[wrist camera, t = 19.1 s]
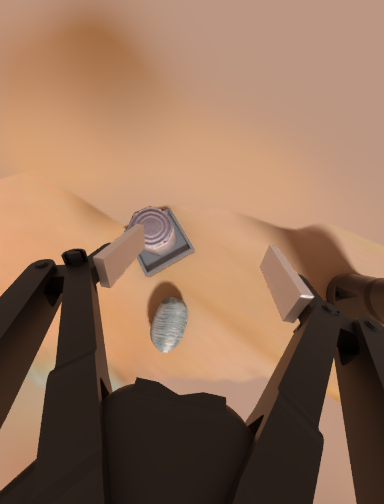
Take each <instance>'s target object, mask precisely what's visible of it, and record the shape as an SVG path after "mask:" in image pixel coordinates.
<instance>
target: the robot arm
mask: <svg viewBox="0 0 384 504" xmlns="http://www.w3.org/2000/svg"><path fill="white" fill-rule="evenodd" d="M144 248H145V238H144V225H142V224H136V225H134V226H133V227H132V228H130V229H129V230H128V231H126V232H125V233H124V234H123V235H121V236H120V237H119V238H117V239H116V240H115V241H113V242H112V243H107V244H104V245H103V246H101V247H100V248H98V249H97V250H96V251H94V252H93V253H92V254H90V255H89V256H87V254H86V251H85V250H83V249H71V250H68V251H66V252H64V253H63V254H62V255H61V256H62V259H63V261H64V263H65V265H56V264H55V262H54V261H53V260H51V259H44V260H38V261H36V262H34V263H32V264H30V265H29V266H28V267H27V268H26V269H25V270H24V272H23V273H22V274H21V275H20V276H19V277H18V278H17V279H16V280H15V281H14V282H13V284H12V285H11V286H10V287H9V288H8V289H7V290H6V291H5V292H4V293H3V294H2V295H1V297H0V428H1V426H2V424H3V423H4V421H5V419H6V417H7V415H8V413H9V410H10V409H11V406H12V404H13V402H14V400H15V398H16V396H17V394H18V392H19V390H20V388H21V385H22V383H23V381H24V379H25V377H26V375H27V373H28V371H29V369H30V367H31V365H32V362H33V360H34V358H35V356H36V354H37V352H38V350H39V348H40V346H41V344H42V341H43V339H44V337H45V335H46V333H47V331H48V329H49V327H50V325H51V323H52V320H53V318H54V316H55V314H56V312H57V310H58V308H59V306H60V304H61V302H62V306H61V316H60V326H59V336H58V346H57V355H56V365H55V368H54V370H52V371H50V373H49V375H48V378H47V383H46V391H45V398H44V406H43V414H42V422H41V429H40V436H39V444H38V452H37V459H36V460H35V461H33V462H32V463H31V464H30V465H29V466H28V467H27V468H26V469H25V470H23V471H22V472H21V473H20V474H19V475H18V476H17V477H16V478H14V479H13V480H12V481H11V482H10V483H9V484H8V485H7V486H5V487H4V488H3V489H2V490H1V491H0V504H313V499H314V494H315V489H316V483H317V478H318V473H319V467H320V461H321V456H322V451H323V444H324V439H323V435H322V433H321V432H320V431H319V428H318V426H319V421H320V416H321V412H322V407H323V403H324V398H325V394H326V389H327V385H328V381H329V376H330V372H331V367H332V363H333V358H334V360H335V366H336V373H337V379H338V386H339V392H340V399H341V405H342V412H343V418H344V425H345V431H346V438H347V444H348V450H349V457H350V464H351V470H352V476H353V483H354V489H355V496H356V502H357V504H384V278H374V277H369V276H364V275H360V274H344V275H340V276H337V277H335V278H334V279H333V280H332V281H331V282H330V284H329V286H328V288H327V300H328V302H325V301H323V300H322V299H321V297H320V296H319V295H318V294H317V292H316V291H315V290H314V289H313V287H312V286H311V285H310V283H309V282H308V281H307V279H305V278H304V277H303V276H302V275H299V274H297V272H296V271H295V270H294V268H293V267H292V266H291V264H290V263H289V262H288V260H287V259H286V258H285V256H284V255H283V253H282V252H281V251H280V249H279V248H278V247H277V246H273V245H269V247H268V249H267V252H266V254H265V256H264V258H263V261H262V263H261V265H260V268H261V271H262V273H263V275H264V278H265V280H266V282H267V285H268V287H269V290H270V292H271V294H272V297H273V299H274V301H275V304H276V306H277V308H278V311H279V313H280V316H281V318H282V320H283V321H285V322H291V323H294V322H295V321H296V319H297V318H298V319H299V321H300V324H299V325H298V327H297V328H296V329H295V330H294V331H293V332H294V335H293V336H292V338H291V340H290V342H289V344H288V346H287V348H286V350H285V352H284V354H283V356H282V357H281V359H280V361H279V363H278V365H277V367H276V369H275V371H274V373H273V375H272V376H271V378H270V380H269V382H268V384H267V386H266V388H265V390H264V392H263V394H262V396H261V398H260V399H259V401H258V404H257V405H256V407H255V409H254V410H253V412H252V413H251V415H250V416H249V417H248V419H247V420H246V422H244V421H243V420H242V418H241V417H240V416H239V415H238V414H237V413H236V412H235V411H234V410H233V409H231V408H230V407H229V406H227V405H226V397H222V396H217V395H213V394H208V393H204V392H203V393H194V394H187V395H178V394H176V393H175V392H173V391H171V390H170V389H168V388H167V387H165V386H163V385H162V384H160V383H159V382H156V381H151V380H147V379H142V378H138V377H137V378H136V381H135V384H130V385H126V386H124V387H121V388H119V389H117V390H116V391H114V392H112V387H111V383H110V379H109V374H108V367H107V359H106V352H105V344H104V337H103V330H102V322H101V315H100V307H99V300H98V293H97V286H96V284H97V283H98V282H99V281H100V285H101V287H107V288H111V287H112V286H113V285H114V283H115V282H116V281H117V280H118V279H119V277H120V276H121V275H122V274H123V273H124V272H125V270H126V269H127V268H128V267H129V266H130V264H131V263H132V262H133V261H134V260H135V259H136V257H137V256H138V255H139V254H140V253H141V252H142V250H143V249H144Z"/></svg>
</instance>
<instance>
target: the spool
mask: <svg viewBox="0 0 384 504" xmlns="http://www.w3.org/2000/svg"><path fill="white" fill-rule="evenodd" d="M187 317H188V310H187V306H186V304H185V303H184V302H183V301H182V300H181V299H179V298H176V297H168V298H166V299H165V300H164V301H163V302H162V303H161V304H160V305H159V307H158V309H157V310H156V313H155V315H154V318H153V320H152V324H151V329H150V335H151V340H152V342H153V344H154V346H155V347H156V348H157V349H158V350H159V351H160V352H162V353H167V352H170V351H171V350H173V349H174V348H175V347H176V346H177V345H178V343H179V342H180V340H181V338H182V336H183V333H184V331H185V327H186V324H187Z"/></svg>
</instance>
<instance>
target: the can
mask: <svg viewBox="0 0 384 504" xmlns="http://www.w3.org/2000/svg"><path fill="white" fill-rule="evenodd" d="M136 224H142V225H144V238H145V248H144V249H145V250H146V251H148V252H149V253H150V254H151V255H156V256H161V257H162V256H165V255H167V254H169V253H171V252H172V251H173V249H174V248H175V246H176V244H177V237H176V232H175V229H174V224H173V222H172V220H171V218H170V217H169V215H168V213H167V211H165V210H162V209H158V208H155V207H152V206H149V207H146V208H144V209H142V210H140V211H138V212H135V213H134V214H133V216H132V218H131V221H130V223H129V225H128V228H127V229H128V230H129V229H130V228H132V227H133V226H134V225H136Z"/></svg>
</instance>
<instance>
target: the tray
mask: <svg viewBox="0 0 384 504" xmlns="http://www.w3.org/2000/svg"><path fill="white" fill-rule="evenodd" d="M165 211H167V213H168V215H169V217H170V218H171V220H172V222H173V224H174V229H175V232H176V237H177V244H176V246H175V248H174V249H173V251H172V252H171V253H169V254H167V255H165V256H162V257H161V256H156V255H151V254H150V253H149V252H148V251H146V250H145V249H143V250H142V252H141V253H140V254H139V255H138V256H137V259H138V261H139V263H140V265H141V267H142V269H143V271H144V273H145V275H146V276H147V277H151V276H153V275H154V274H156V273H158V272H160V271H161V270H163V269H165V268H167V267H169V266H170V265H172V264H174V263H176V262H177V261H179V260H181V259H183V258H185V257H186V256H188V255H190V254H192V253H193V252H194V248H193V246H192V244H191V243H190V241H189V239H188V238H187V236H186V234H185V233H184V231H183V229H182V228H181V226H180V224H179V223H178V221H177V219H176V218H175V216H174V214H173V213H172V211H171V209H170V208H168V209H166V210H165ZM126 231H128V229H127V230H125V231H124V233H125V232H126Z"/></svg>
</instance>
